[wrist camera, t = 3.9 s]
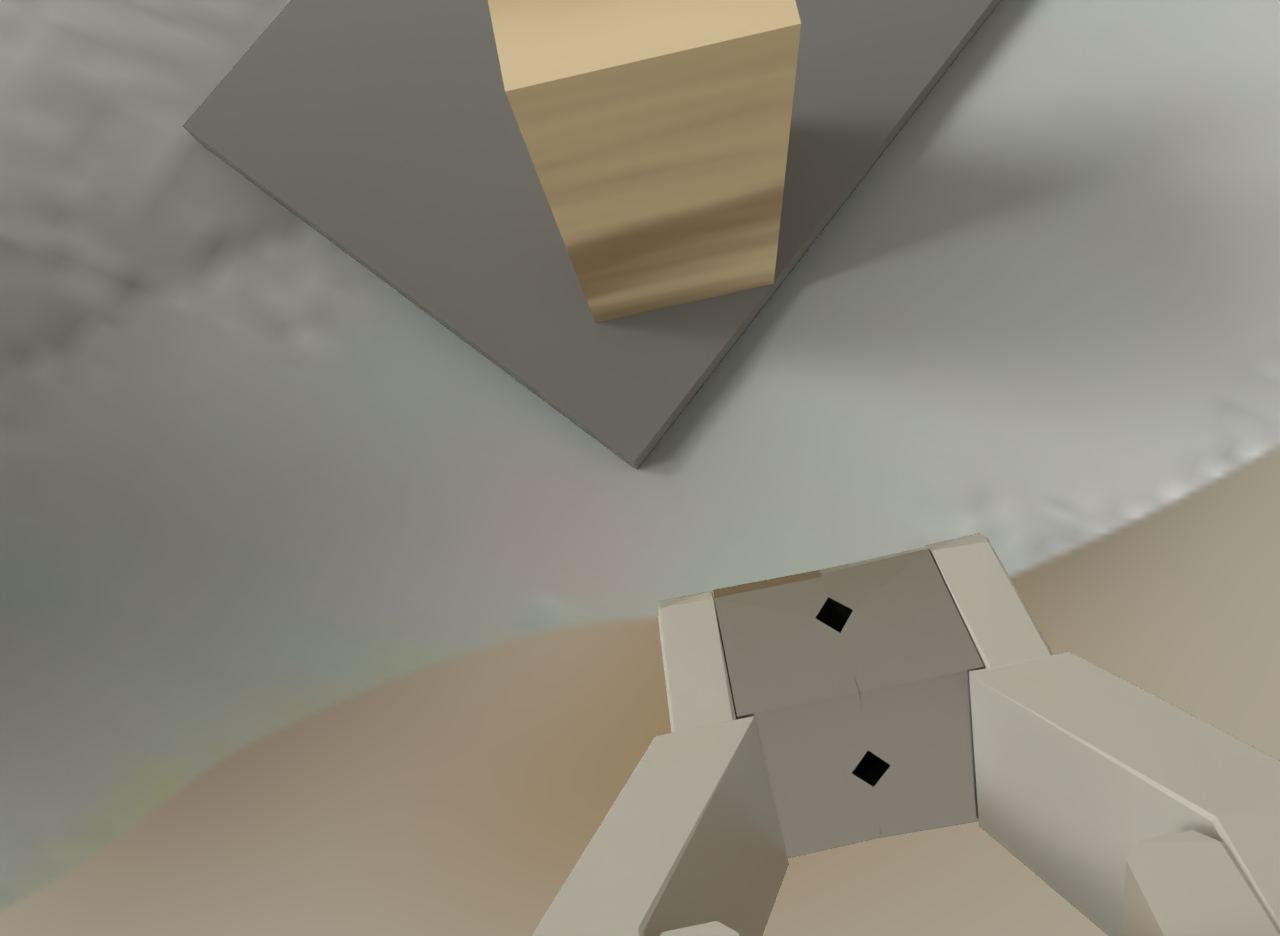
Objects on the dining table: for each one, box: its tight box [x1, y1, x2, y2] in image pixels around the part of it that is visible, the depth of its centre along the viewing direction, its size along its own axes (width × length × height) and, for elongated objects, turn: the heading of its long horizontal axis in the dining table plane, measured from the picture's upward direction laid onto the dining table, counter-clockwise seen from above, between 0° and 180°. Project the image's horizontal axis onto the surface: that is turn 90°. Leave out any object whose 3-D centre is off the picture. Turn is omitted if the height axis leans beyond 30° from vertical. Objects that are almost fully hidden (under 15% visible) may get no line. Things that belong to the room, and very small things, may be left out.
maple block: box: [488, 0, 801, 323], centre depth 24 cm, size 5×5×12 cm
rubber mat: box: [183, 0, 1001, 469], centre depth 32 cm, size 22×17×1 cm
